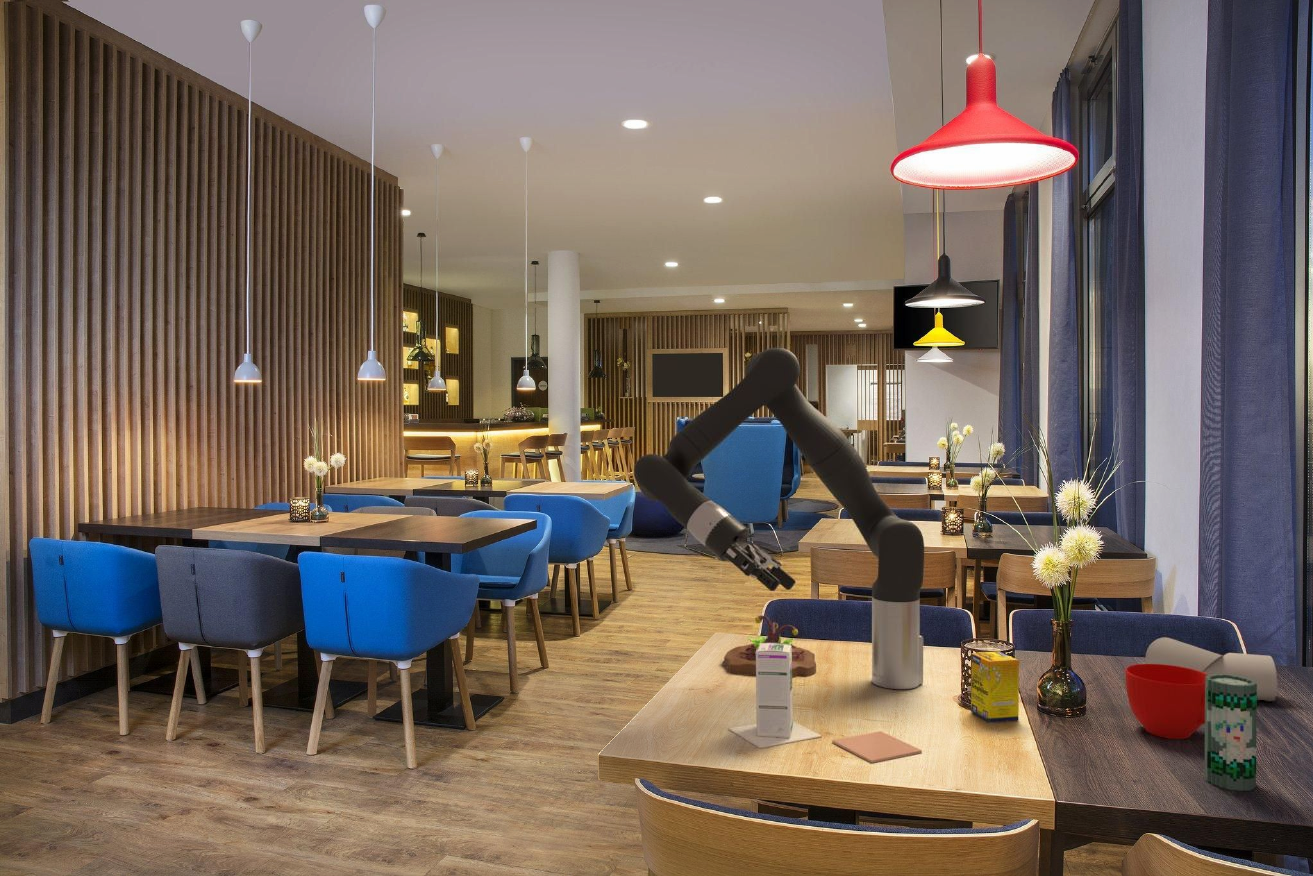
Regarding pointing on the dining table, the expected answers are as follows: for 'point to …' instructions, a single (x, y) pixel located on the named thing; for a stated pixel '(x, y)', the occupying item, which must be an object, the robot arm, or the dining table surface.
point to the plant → (745, 656)
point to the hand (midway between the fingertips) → (784, 586)
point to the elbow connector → (1217, 663)
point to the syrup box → (774, 690)
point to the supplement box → (995, 686)
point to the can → (1230, 731)
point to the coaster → (876, 746)
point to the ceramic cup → (1167, 698)
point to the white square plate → (761, 741)
